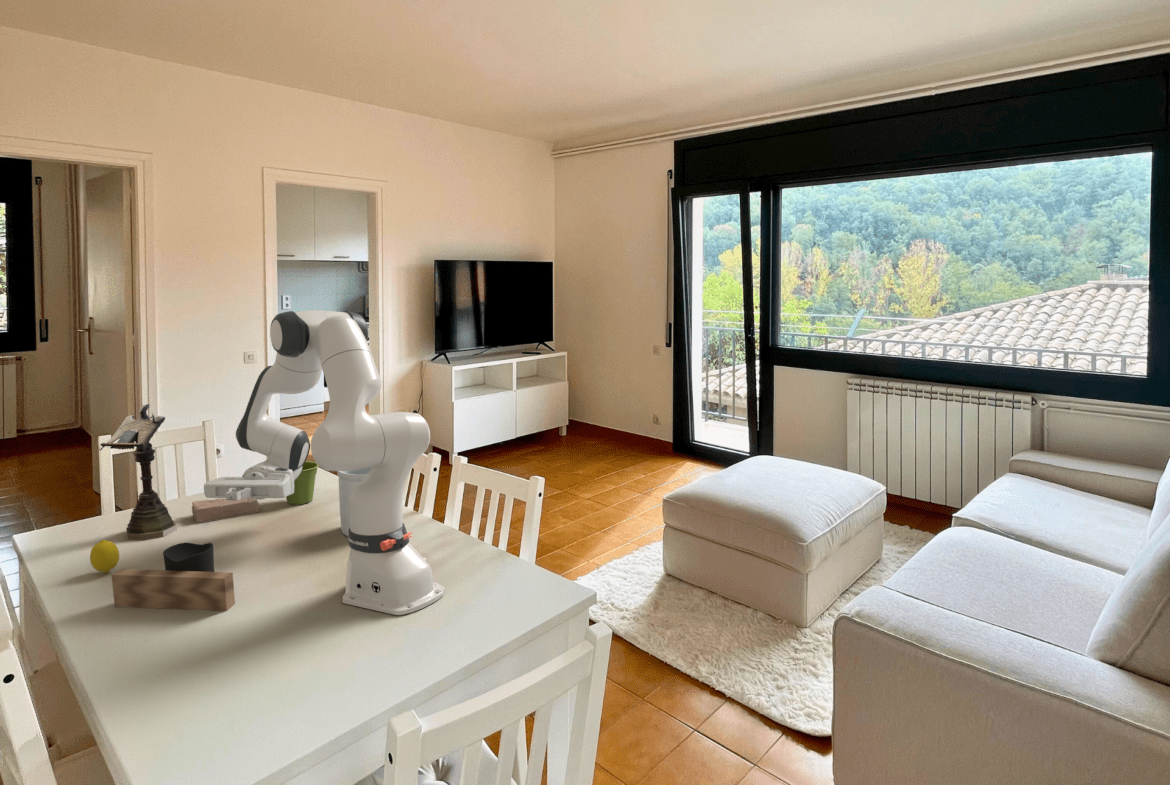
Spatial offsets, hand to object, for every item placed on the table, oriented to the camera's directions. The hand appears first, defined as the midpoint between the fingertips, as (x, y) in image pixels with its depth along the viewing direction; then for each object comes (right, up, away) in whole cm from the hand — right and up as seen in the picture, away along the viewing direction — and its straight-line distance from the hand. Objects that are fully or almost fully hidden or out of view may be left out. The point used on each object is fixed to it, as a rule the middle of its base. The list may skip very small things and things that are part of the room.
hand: (231, 497), depth 165 cm
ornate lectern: (-32, -13, +19) cm, 39 cm away
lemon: (-27, -17, -4) cm, 32 cm away
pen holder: (-2, -19, -14) cm, 23 cm away
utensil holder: (+25, -13, +25) cm, 38 cm away
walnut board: (-2, -20, -20) cm, 28 cm away
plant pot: (-3, -9, +48) cm, 49 cm away
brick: (-20, -11, +36) cm, 43 cm away
